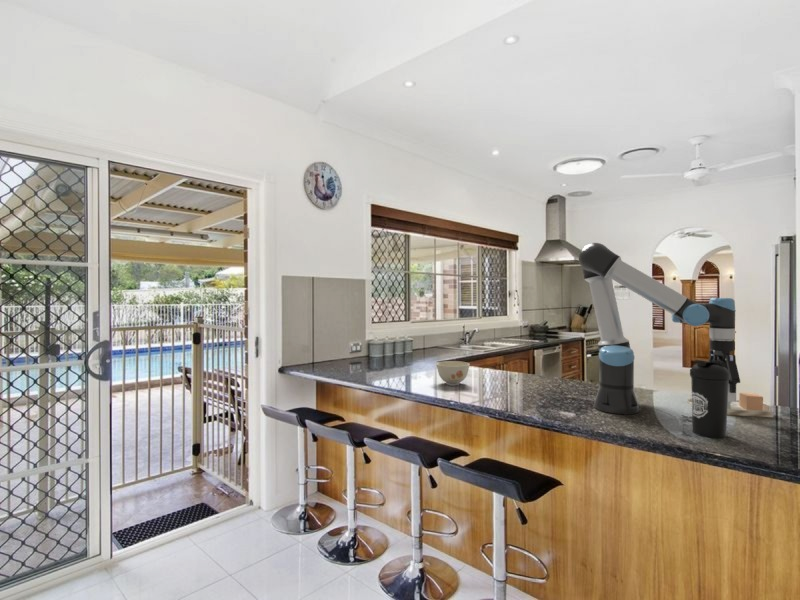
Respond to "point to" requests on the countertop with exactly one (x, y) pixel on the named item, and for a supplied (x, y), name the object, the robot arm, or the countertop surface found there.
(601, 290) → the robot arm
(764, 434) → the countertop surface
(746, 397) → the block
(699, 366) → the water bottle
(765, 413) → the lane board
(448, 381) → the bowl
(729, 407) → the strip
